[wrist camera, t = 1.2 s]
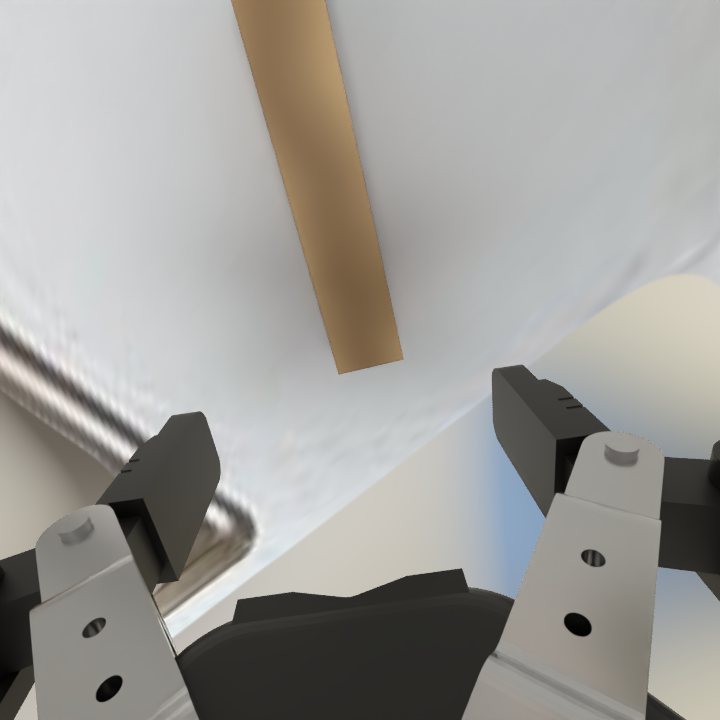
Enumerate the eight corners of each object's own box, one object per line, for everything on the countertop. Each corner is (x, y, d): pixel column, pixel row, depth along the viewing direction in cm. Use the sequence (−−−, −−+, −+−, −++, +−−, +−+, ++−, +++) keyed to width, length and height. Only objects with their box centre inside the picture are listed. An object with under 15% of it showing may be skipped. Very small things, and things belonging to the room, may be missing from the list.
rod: (319, -7, 20) (314, -50, 16) (395, 334, 26) (403, 359, 22) (246, 14, 20) (224, -24, 16) (339, 347, 26) (338, 374, 23)
